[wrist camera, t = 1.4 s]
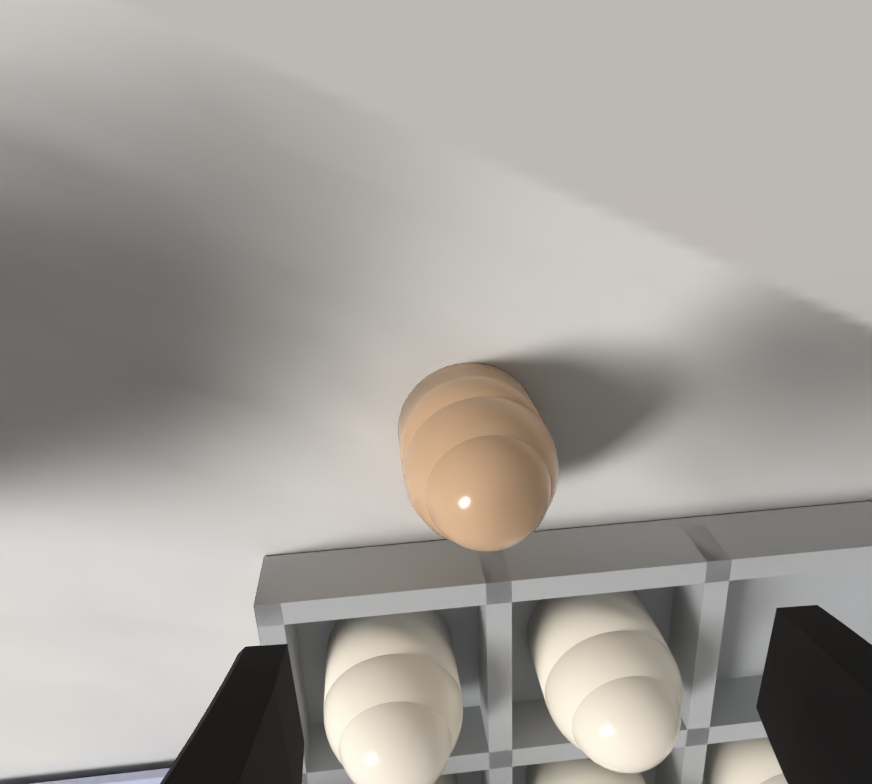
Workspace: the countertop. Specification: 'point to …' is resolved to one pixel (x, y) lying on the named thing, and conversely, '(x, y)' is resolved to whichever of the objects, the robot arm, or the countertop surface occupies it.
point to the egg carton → (574, 576)
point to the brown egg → (476, 457)
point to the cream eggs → (561, 685)
